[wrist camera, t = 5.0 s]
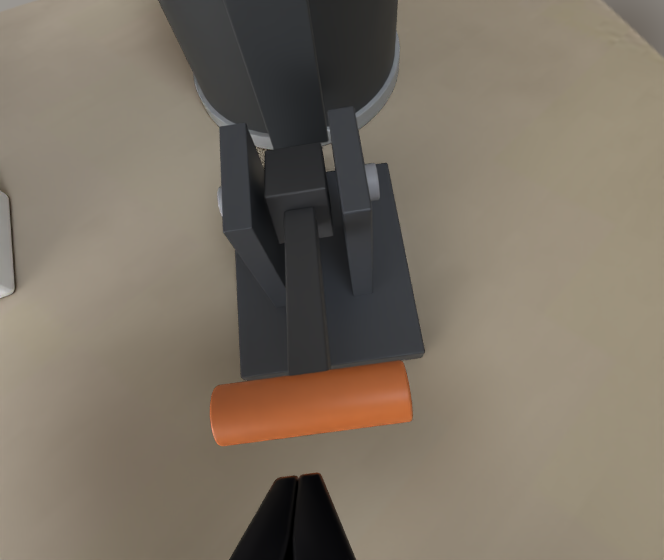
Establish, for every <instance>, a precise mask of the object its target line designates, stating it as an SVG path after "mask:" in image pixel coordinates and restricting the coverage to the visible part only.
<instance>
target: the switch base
mask: <svg viewBox="0 0 664 560" xmlns="http://www.w3.org/2000/svg"><path fill="white" fill-rule="evenodd" d="M327 114H328V121H329V128H330V135H331V142H332V149H333V157H334V164H335V171H329V172H326V176H327V182H328V188H329V196H330V204H331V212H332V219H333V227H334V235H333V236H329V237H323V238H319V244H320V254H321V265H322V275H323V286H324V296H325V307H326V317H327V328H328V339H329V349H330V360H331V370H332V369H339V368H346V367H354V366H361V365H368V364H376V363H383V362H390V361H398V360H400V361H401V360H408V359H416V358H421V357H422V356H423V355H424V353H425V349H424V344H423V339H422V334H421V329H420V324H419V319H418V314H417V309H416V304H415V299H414V294H413V289H412V284H411V279H410V274H409V269H408V264H407V259H406V254H405V249H404V244H403V239H402V234H401V229H400V224H399V219H398V214H397V209H396V204H395V199H394V194H393V189H392V184H391V179H390V174H389V169H388V164H387V163H381V164H375V163H369V164H364V159H363V153H362V147H361V142H360V136H359V130H358V125H357V119H356V113H355V108H354V107H353V106H348V107H342V108H336V109H330V110H328V112H327ZM219 130H220V160H221V187H219V188H218V205H219V209H220V213H221V215H222V219H223V233H224V234H225V236H226V237H227V238H228V240H229V241H230V243H231V244H232V246H233V247H234V248H235V257H236V279H237V302H238V324H239V346H240V369H241V378H243V379H245V380H247V381H252V380H259V379H266V378H274V377H281V376H288V354H287V315H286V276H285V243H282V244H279V243H278V240H277V237H276V234H275V231H274V228H273V225H272V221H271V218H270V215H269V212H268V209H267V206H266V202H265V199H264V171H265V170H264V168H263V165H262V163H261V160H260V158H259V155H258V152H257V150H256V147H255V145H254V142H253V140H252V137H251V135H250V132H249V130H248V127H247V125H246V123H239V124H233V125H226V126H220V127H219Z"/></svg>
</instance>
